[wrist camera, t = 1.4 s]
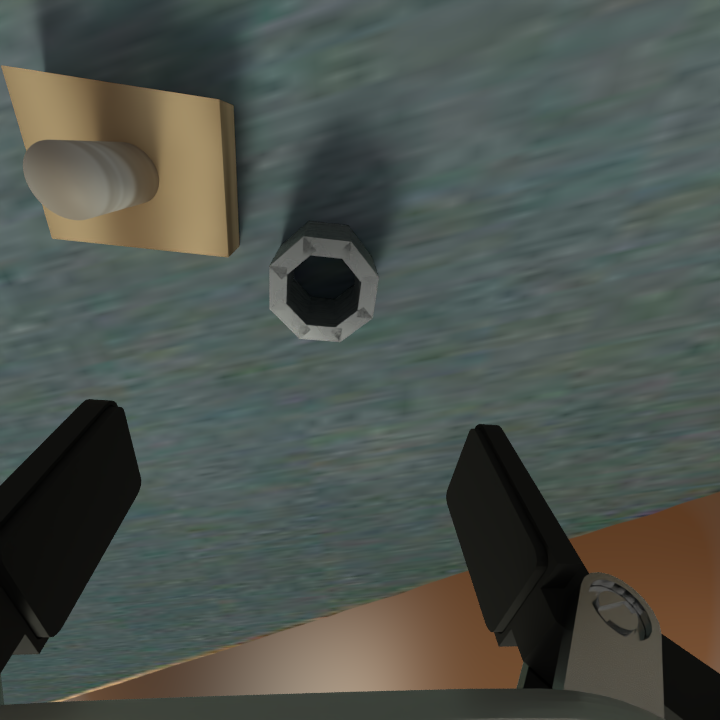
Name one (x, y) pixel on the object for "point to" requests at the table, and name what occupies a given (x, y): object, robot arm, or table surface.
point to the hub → (322, 313)
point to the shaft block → (128, 163)
